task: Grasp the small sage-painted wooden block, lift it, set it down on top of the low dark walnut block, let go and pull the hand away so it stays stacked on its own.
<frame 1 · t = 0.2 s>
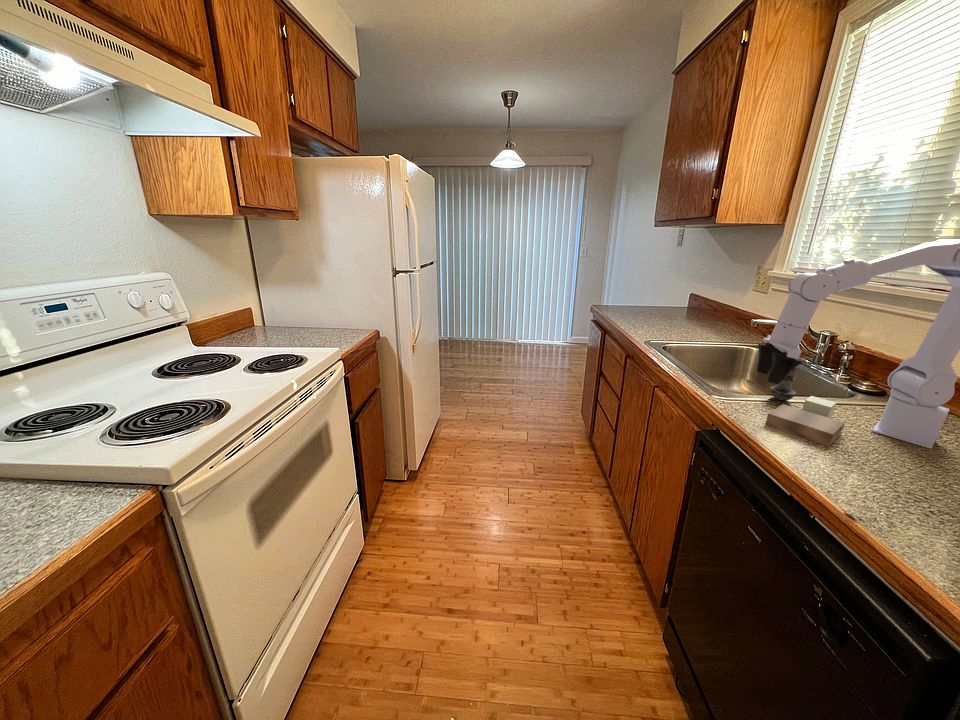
hand: (767, 377, 93), 11 cm above the counter, tool pointing down, fingers open, 7 cm apart
walnut block: (802, 429, 90), on the counter
salt shaker: (779, 402, 106), on the counter
sage block: (814, 419, 96), on the counter
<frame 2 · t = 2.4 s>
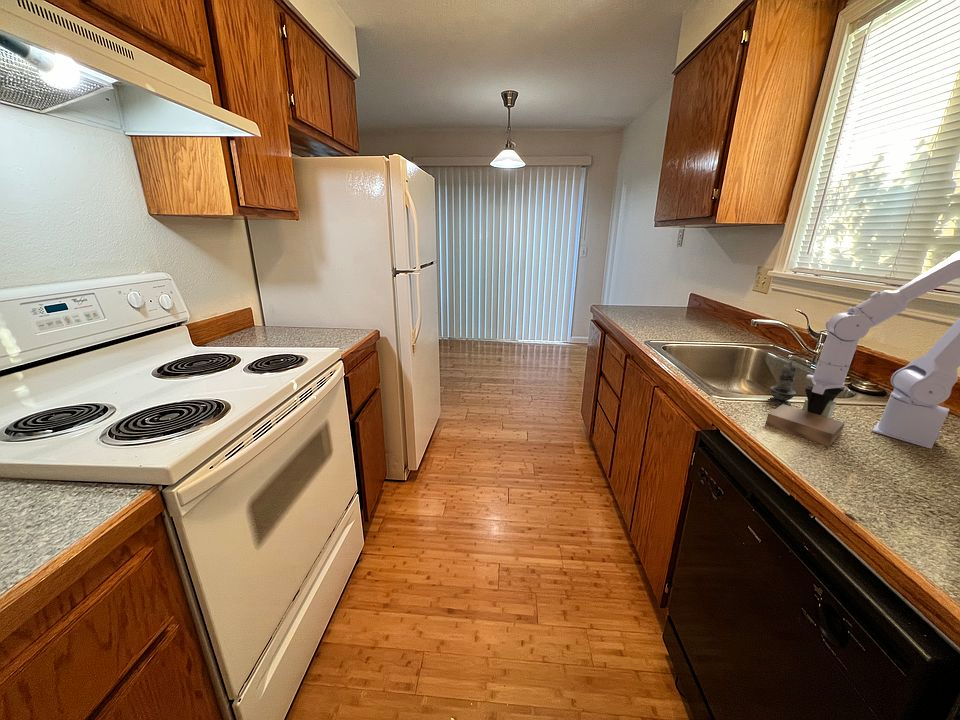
hand: (816, 413, 96), 1 cm above the counter, tool pointing down, fingers closed on sage block, 5 cm apart
sage block: (814, 418, 96), on the counter, touching gripper
everything else where it was.
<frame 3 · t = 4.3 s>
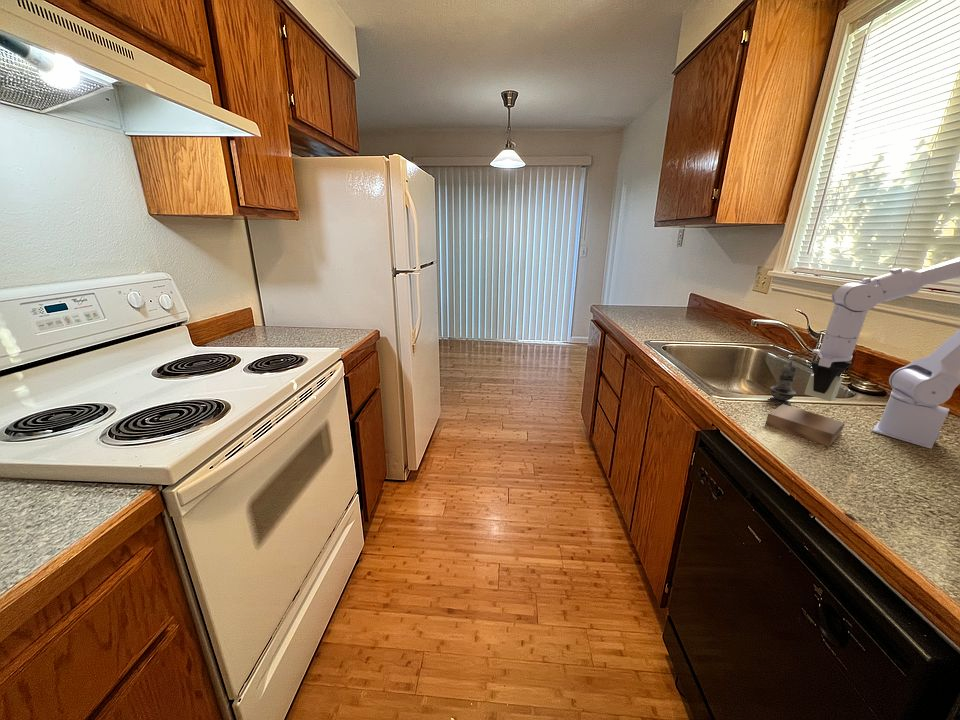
hand: (822, 389, 92), 8 cm above the counter, tool pointing down, fingers closed on sage block, 5 cm apart
sage block: (820, 395, 93), point 7 cm above the counter, touching gripper
everything else where it was.
when the fingers open (5 cm above the counter, at t = 6.2 s): sage block stays where it is, resting on walnut block.
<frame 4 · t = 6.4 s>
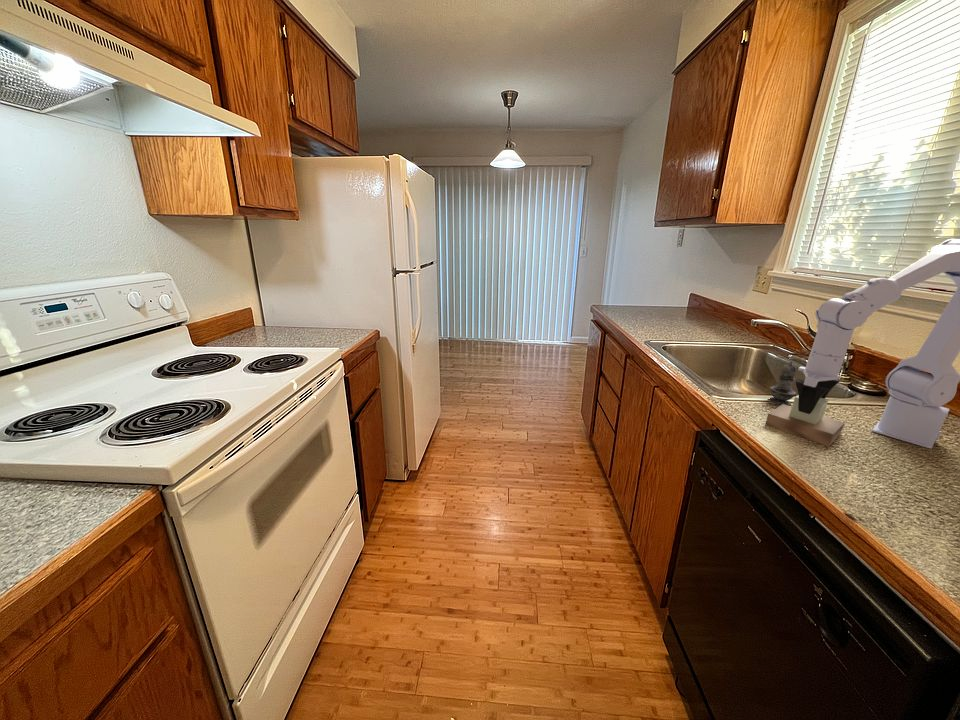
hand: (809, 408, 89), 5 cm above the counter, tool pointing down, fingers open, 6 cm apart
sage block: (805, 417, 90), point 3 cm above the counter, touching walnut block
everything else where it was.
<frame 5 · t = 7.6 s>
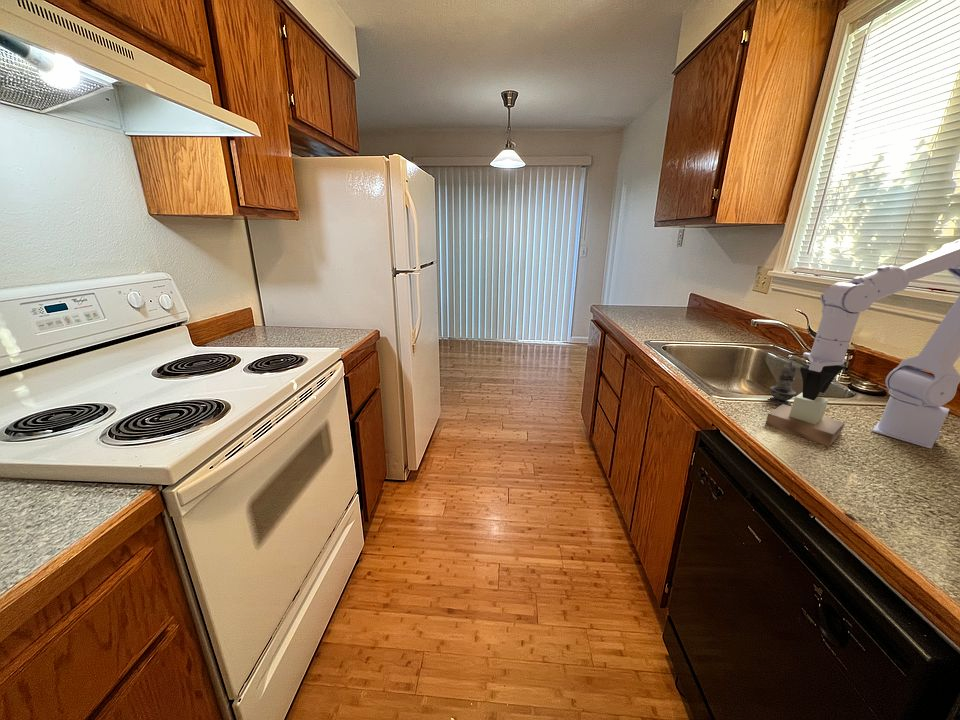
hand: (813, 395, 88), 9 cm above the counter, tool pointing down, fingers open, 7 cm apart
nothing on the counter moved.
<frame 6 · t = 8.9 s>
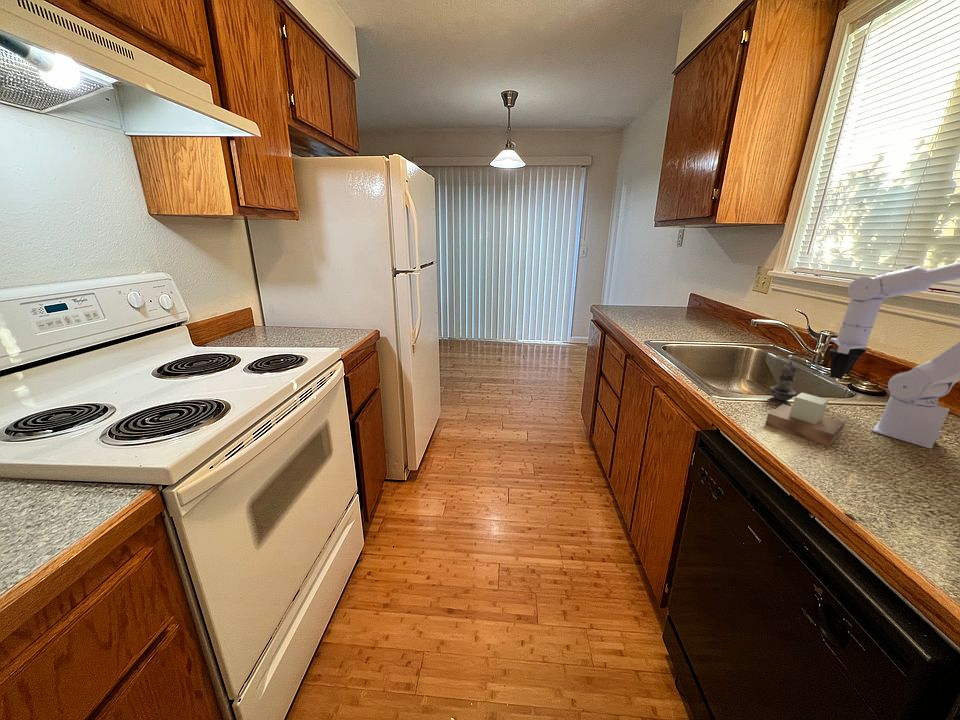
hand: (839, 375, 100), 9 cm above the counter, tool pointing down, fingers open, 7 cm apart
nothing on the counter moved.
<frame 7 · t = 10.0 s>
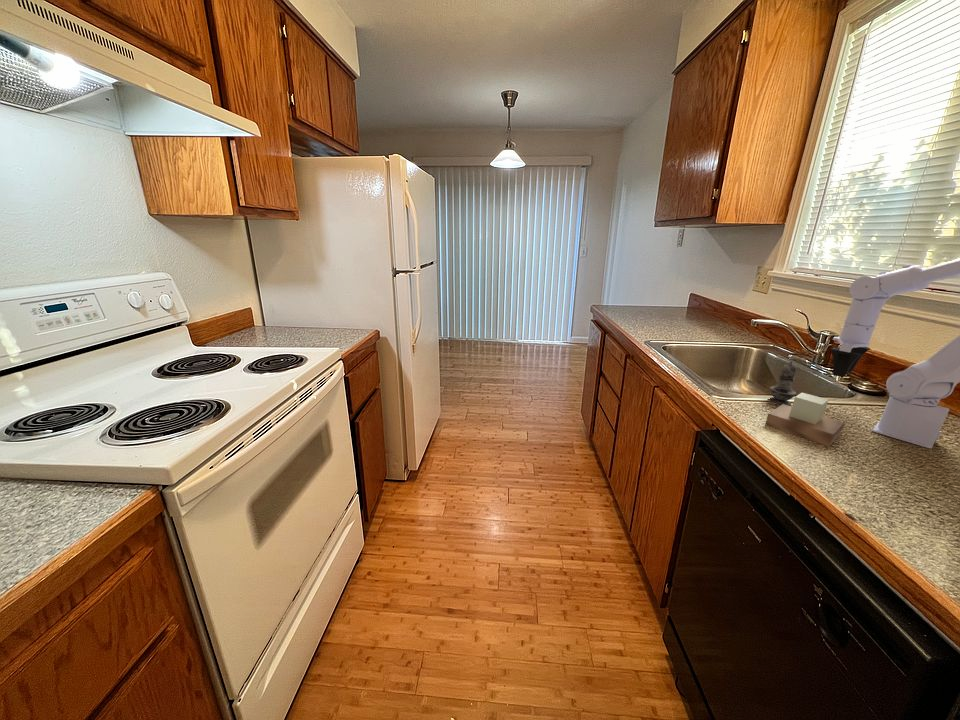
hand: (842, 373, 102), 9 cm above the counter, tool pointing down, fingers open, 7 cm apart
nothing on the counter moved.
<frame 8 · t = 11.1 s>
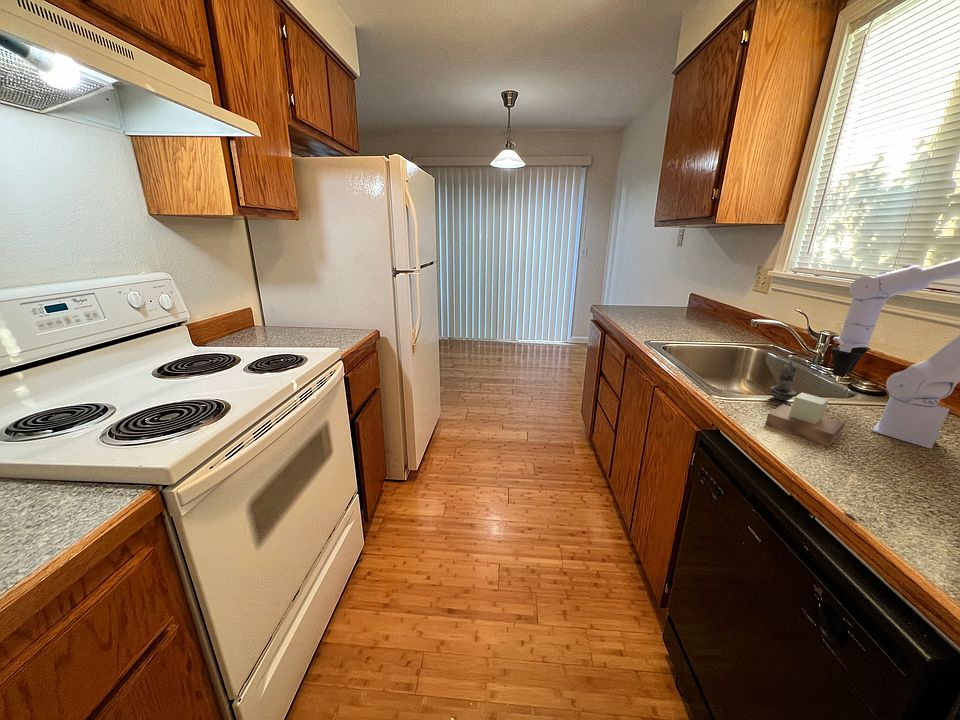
hand: (842, 373, 102), 9 cm above the counter, tool pointing down, fingers open, 7 cm apart
nothing on the counter moved.
at the end: sage block inside the target area on the walnut block (0.1 cm from its centre), point 3.0 cm above the walnut block's base; sage block tilted 0°; the gripper is holding nothing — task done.
